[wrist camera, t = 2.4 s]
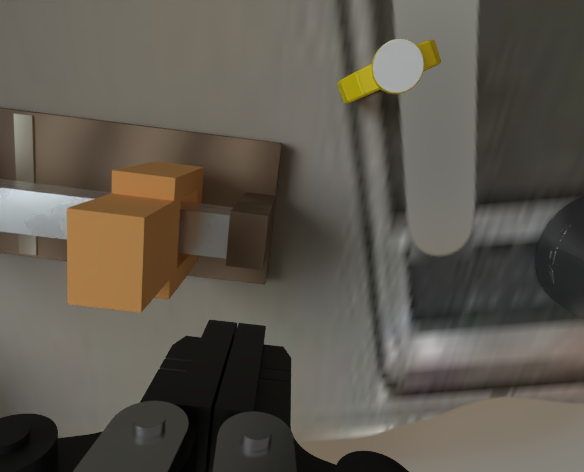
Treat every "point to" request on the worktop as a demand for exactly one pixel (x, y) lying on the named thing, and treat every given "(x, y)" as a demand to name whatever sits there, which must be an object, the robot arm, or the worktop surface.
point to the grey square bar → (56, 199)
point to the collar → (131, 238)
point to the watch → (391, 69)
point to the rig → (138, 150)
